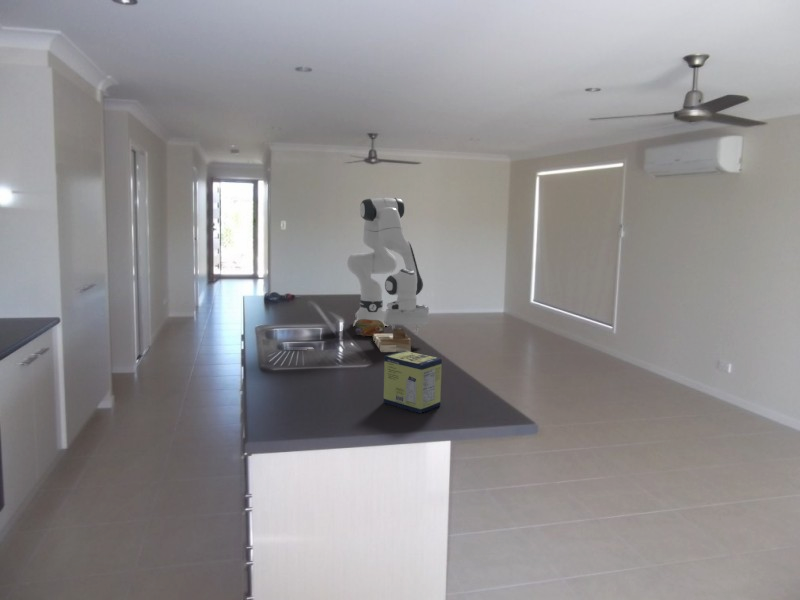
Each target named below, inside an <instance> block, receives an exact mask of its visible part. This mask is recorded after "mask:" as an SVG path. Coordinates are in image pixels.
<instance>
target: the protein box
mask: <svg viewBox="0 0 800 600" xmlns="http://www.w3.org/2000/svg"><path fill="white" fill-rule="evenodd" d="M442 360H443V359H442V358H440V357H436V356H432V355H431V356H430V355H425V354H420V353H416V352H412V351H411V352H409V351H402V352H393V353H391V354H387V355H384V363H383V365H384V367H383V368H384V369H383V370H384V371H383V402H384V404H386V403H387V404H388V405H389V404H391V405H390V406H393V405H394V406H393V407H396V406H397V407H396V408H399V407H401V408H400V409H403V408H404V409H403V410H406V409H408V410H407V411H409V410H411V411H410V412H413V411H415V412H414V413H416V412H418V413H417V414H419V413H421V414H423V413H422V412H424V413H426V412H428V410H429V411H431V410H433V408H434V409H436V408H439V407H441V393H442V392H441V391H442V390H441V389H442V388H441V387H442V365H443V364H442V363H443V361H442ZM387 404H386V405H387ZM438 406H439V407H438ZM435 407H436V408H435ZM430 409H431V410H430ZM425 411H426V412H425Z"/></svg>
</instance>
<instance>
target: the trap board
mask: <svg viewBox="0 0 800 600" xmlns="http://www.w3.org/2000/svg"><path fill="white" fill-rule="evenodd" d="M398 329H402V328H398ZM372 338H373V339H372V340H373V342H374V341H375V342H374V343H375V345H376V346H377V348H378V349H379V351H380V352H381V353H398V352H402V351H409V352H412V351H411V350H412V349H411V348H412V347H411V346H412V339H411V338H410V336H408V335H407V333H405V339H393V333H383V334H373V337H372Z"/></svg>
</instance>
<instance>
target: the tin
mask: <svg viewBox="0 0 800 600" xmlns="http://www.w3.org/2000/svg"><path fill="white" fill-rule="evenodd" d="M353 327H354V326H353ZM353 329H354V331H355V333H356V335H358V336H359V335H363V336H362V337H365V336H372V337H371V338H373V334H385V330H386V327H385V326H384V324H383V323H382V322H381V321H379V320H369V319H360V320H358V321H357V322H356V323H355V327H354V328H353Z"/></svg>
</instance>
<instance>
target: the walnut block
mask: <svg viewBox="0 0 800 600" xmlns="http://www.w3.org/2000/svg"><path fill="white" fill-rule="evenodd" d="M392 334H393V339H405V334H406V331H405V330H404V329H403V328H401V329H399V328H395V329H393V328H392Z"/></svg>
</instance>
